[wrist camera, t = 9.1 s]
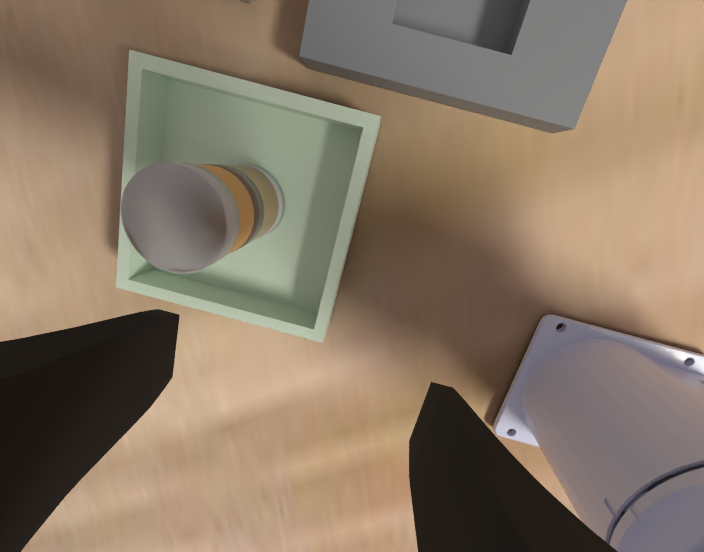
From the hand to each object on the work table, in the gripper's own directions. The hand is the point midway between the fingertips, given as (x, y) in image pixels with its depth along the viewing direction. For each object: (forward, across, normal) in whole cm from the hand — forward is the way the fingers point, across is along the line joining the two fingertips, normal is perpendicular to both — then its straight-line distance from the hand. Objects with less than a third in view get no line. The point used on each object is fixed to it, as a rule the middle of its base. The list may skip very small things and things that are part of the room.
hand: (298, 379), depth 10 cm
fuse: (+10, +5, -3) cm, 12 cm away
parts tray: (+10, +5, -2) cm, 12 cm away
